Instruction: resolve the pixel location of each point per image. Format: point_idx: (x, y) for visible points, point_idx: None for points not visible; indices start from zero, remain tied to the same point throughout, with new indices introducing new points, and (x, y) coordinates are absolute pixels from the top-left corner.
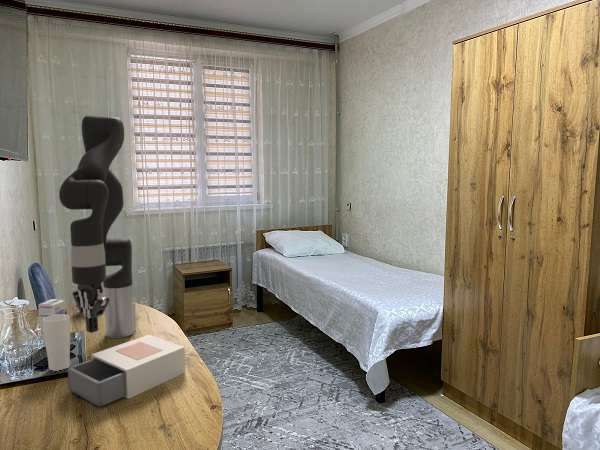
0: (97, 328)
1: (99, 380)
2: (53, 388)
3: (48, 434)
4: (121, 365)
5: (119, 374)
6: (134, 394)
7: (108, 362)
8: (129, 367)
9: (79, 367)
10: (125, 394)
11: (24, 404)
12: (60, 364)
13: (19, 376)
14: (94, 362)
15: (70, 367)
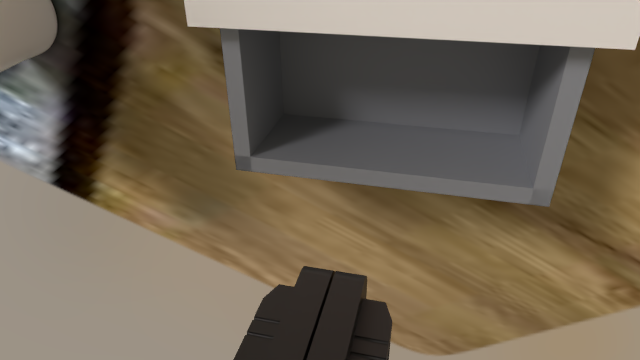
0: (387, 313)
1: None
2: (199, 127)
3: (497, 302)
4: (528, 21)
5: (575, 73)
6: None
7: (389, 35)
8: (620, 7)
9: (252, 115)
10: None
11: (247, 234)
12: (37, 35)
13: (21, 136)
14: None
15: (240, 158)
